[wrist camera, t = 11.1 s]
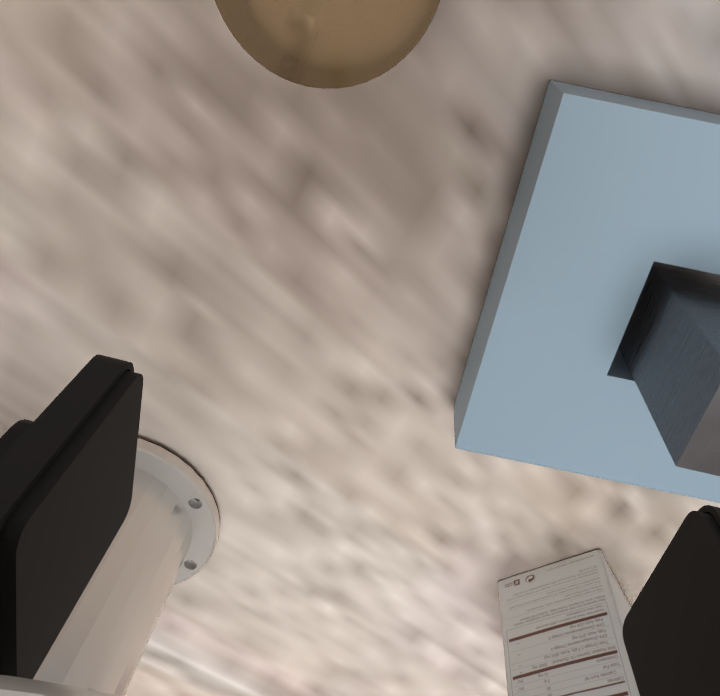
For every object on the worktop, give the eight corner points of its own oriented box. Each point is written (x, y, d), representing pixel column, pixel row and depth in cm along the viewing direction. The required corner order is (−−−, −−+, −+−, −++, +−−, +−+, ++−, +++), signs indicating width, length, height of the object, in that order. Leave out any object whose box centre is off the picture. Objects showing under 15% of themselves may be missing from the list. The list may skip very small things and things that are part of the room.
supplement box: (642, 619, 46) (706, 822, 35) (538, 648, 48) (567, 846, 37) (602, 543, 43) (657, 737, 32) (493, 578, 46) (510, 769, 35)
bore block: (760, 470, 40) (791, 517, 36) (453, 406, 40) (455, 448, 36) (942, 160, 31) (1006, 183, 27) (549, 80, 31) (563, 93, 28)
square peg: (688, 343, 36) (789, 492, 26) (607, 325, 36) (675, 466, 26) (726, 267, 34) (852, 396, 24) (640, 248, 34) (729, 368, 24)
